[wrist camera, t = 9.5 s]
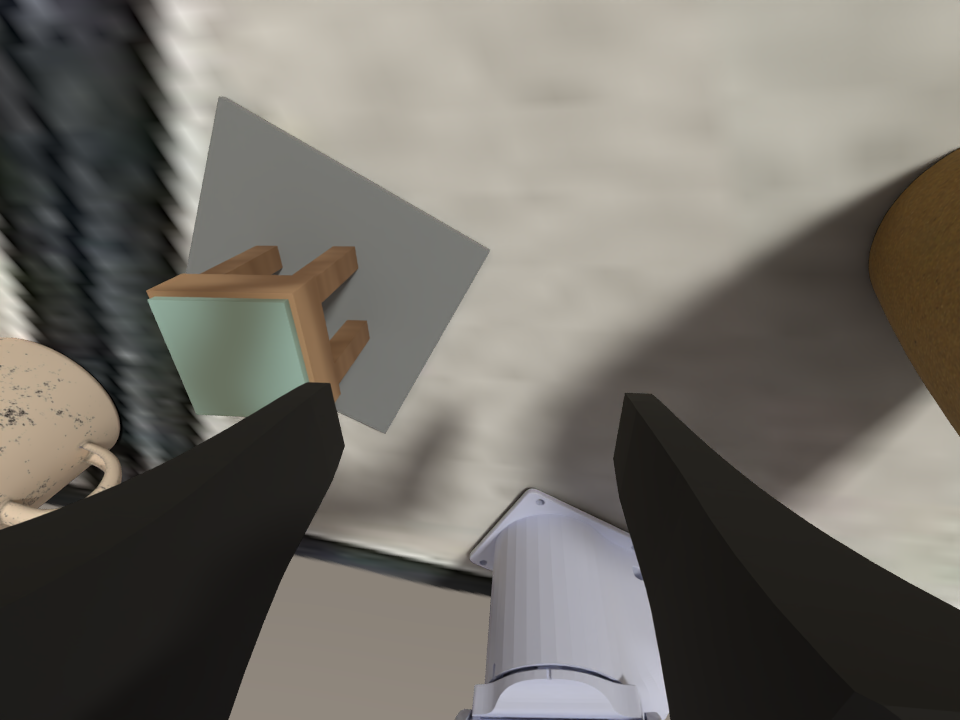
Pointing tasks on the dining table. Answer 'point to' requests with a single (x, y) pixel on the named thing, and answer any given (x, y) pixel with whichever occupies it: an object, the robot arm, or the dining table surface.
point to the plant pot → (925, 278)
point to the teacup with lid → (49, 428)
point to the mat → (336, 222)
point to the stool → (256, 329)
